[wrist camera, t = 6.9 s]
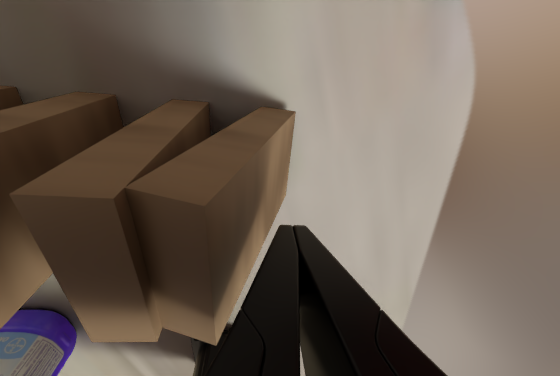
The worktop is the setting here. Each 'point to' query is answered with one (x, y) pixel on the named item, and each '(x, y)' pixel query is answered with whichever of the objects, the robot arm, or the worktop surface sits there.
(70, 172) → the domino
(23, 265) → the domino
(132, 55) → the worktop surface
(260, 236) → the domino
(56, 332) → the bottle
